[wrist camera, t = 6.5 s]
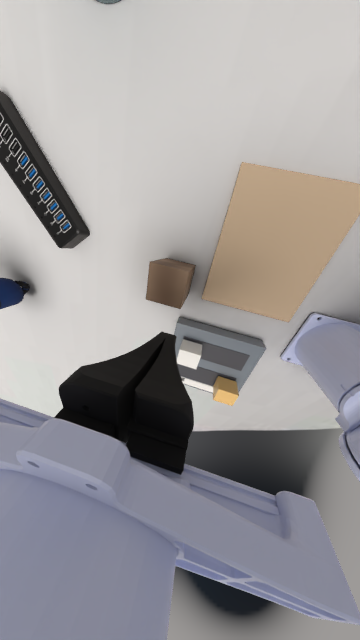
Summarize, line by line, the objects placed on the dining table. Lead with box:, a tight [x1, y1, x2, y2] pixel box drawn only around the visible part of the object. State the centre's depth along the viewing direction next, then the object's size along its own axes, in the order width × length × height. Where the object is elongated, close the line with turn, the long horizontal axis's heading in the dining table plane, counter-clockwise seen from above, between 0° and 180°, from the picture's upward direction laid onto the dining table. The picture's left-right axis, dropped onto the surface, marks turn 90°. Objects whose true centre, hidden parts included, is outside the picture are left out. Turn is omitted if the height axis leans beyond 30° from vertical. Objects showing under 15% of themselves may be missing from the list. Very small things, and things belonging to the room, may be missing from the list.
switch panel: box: [174, 317, 266, 393], centre depth 24 cm, size 13×12×2 cm
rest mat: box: [202, 162, 360, 322], centre depth 17 cm, size 12×14×1 cm
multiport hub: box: [0, 91, 90, 248], centre depth 18 cm, size 4×14×2 cm, turn 26°
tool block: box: [146, 258, 196, 309], centre depth 18 cm, size 4×4×6 cm
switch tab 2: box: [213, 376, 239, 406], centre depth 23 cm, size 3×3×2 cm
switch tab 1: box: [177, 339, 202, 369], centre depth 21 cm, size 3×3×2 cm
